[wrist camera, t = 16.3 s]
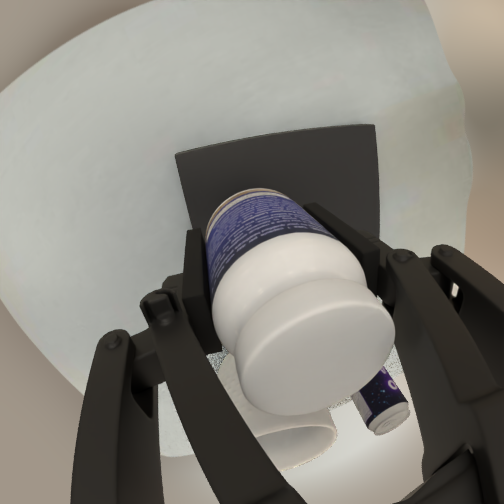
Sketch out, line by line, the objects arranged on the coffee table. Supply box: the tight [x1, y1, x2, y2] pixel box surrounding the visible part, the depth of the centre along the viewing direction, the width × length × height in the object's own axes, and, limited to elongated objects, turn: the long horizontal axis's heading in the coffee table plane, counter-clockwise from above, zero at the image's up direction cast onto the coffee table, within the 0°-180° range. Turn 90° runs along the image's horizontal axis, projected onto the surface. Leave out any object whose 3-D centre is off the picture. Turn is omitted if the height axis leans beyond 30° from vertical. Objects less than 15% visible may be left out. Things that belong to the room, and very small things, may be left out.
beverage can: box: [351, 366, 410, 435], centre depth 30 cm, size 6×6×12 cm
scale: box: [175, 124, 380, 243], centre depth 23 cm, size 17×14×4 cm
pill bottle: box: [205, 188, 395, 416], centre depth 11 cm, size 6×6×10 cm
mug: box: [217, 353, 337, 472], centre depth 27 cm, size 15×11×13 cm
